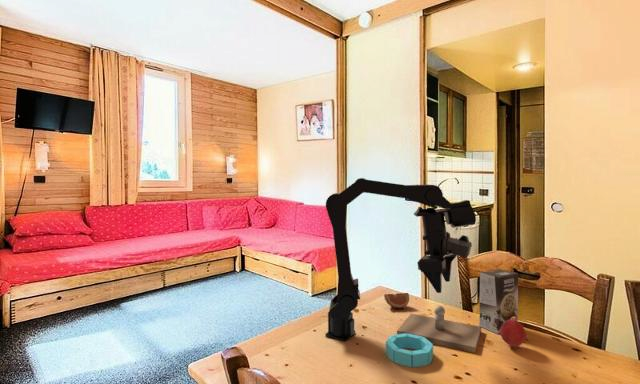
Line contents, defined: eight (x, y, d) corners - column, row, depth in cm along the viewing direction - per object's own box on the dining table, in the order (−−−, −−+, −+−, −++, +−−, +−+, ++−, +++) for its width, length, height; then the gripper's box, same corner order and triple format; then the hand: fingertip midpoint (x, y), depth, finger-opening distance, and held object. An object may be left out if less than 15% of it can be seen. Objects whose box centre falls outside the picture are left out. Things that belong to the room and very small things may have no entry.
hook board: (396, 335, 97) (396, 307, 97) (411, 318, 110) (411, 293, 109) (475, 353, 87) (475, 321, 87) (481, 331, 99) (481, 304, 99)
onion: (501, 350, 89) (502, 319, 88) (498, 340, 94) (499, 311, 94) (528, 354, 87) (528, 322, 86) (523, 344, 92) (523, 314, 92)
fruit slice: (386, 311, 115) (386, 296, 115) (381, 304, 122) (381, 290, 122) (411, 310, 116) (411, 295, 116) (405, 303, 123) (405, 289, 123)
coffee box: (498, 334, 98) (498, 277, 97) (478, 326, 103) (478, 271, 103) (518, 328, 102) (519, 273, 101) (498, 320, 108) (499, 268, 107)
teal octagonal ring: (381, 359, 85) (381, 347, 85) (395, 341, 94) (395, 330, 94) (425, 371, 79) (425, 358, 79) (436, 351, 89) (436, 339, 88)
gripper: (458, 236, 83) (468, 300, 83) (472, 222, 98) (481, 276, 99) (412, 238, 89) (422, 298, 89) (433, 224, 105) (441, 276, 105)
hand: (443, 286), depth 96 cm, fingers open, 9 cm apart
